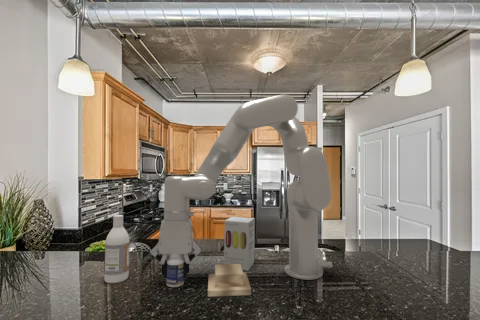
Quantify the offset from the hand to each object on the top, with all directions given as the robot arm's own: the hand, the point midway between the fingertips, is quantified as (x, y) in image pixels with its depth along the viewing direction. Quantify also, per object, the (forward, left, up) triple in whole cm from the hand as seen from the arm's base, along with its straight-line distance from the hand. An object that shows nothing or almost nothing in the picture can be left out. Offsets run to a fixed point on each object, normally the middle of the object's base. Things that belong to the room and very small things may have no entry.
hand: (175, 275), depth 77 cm
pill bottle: (0, 0, -3) cm, 3 cm away
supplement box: (-21, -14, -3) cm, 25 cm away
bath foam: (+19, -5, -3) cm, 20 cm away
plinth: (-16, +3, -2) cm, 16 cm away
